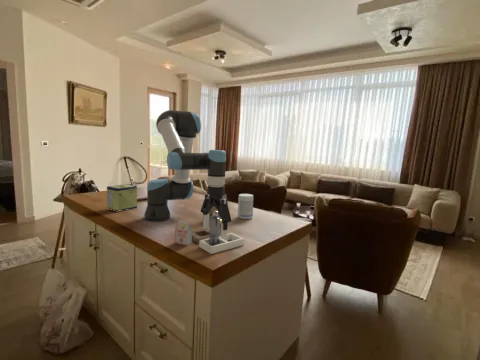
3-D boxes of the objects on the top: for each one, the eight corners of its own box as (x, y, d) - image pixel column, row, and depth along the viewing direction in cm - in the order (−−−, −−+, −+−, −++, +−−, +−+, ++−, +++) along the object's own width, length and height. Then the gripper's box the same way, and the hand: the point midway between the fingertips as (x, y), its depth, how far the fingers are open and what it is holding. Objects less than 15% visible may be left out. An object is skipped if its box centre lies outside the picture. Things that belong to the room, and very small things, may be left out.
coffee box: (208, 218, 165) (208, 193, 163) (213, 216, 171) (214, 191, 169) (221, 221, 162) (222, 195, 159) (226, 218, 167) (227, 193, 165)
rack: (199, 246, 121) (199, 240, 120) (231, 238, 133) (231, 232, 132) (211, 253, 114) (211, 247, 113) (243, 244, 126) (244, 238, 125)
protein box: (137, 208, 182) (137, 185, 180) (116, 212, 169) (115, 188, 167) (127, 205, 187) (127, 183, 185) (106, 209, 174) (106, 186, 172)
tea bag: (180, 240, 128) (180, 220, 126) (191, 243, 125) (192, 222, 123) (175, 242, 124) (175, 222, 123) (186, 245, 122) (187, 224, 120)
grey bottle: (207, 247, 121) (208, 210, 118) (215, 245, 124) (216, 209, 121) (212, 250, 117) (214, 213, 115) (221, 248, 120) (222, 211, 118)
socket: (186, 236, 134) (186, 226, 133) (216, 229, 145) (216, 220, 145) (198, 243, 124) (199, 233, 124) (230, 236, 136) (230, 226, 136)
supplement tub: (255, 218, 171) (256, 195, 169) (243, 220, 165) (244, 197, 163) (246, 214, 179) (247, 193, 177) (234, 216, 173) (235, 194, 171)
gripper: (241, 189, 110) (238, 239, 112) (207, 181, 128) (206, 223, 131) (226, 191, 105) (224, 242, 108) (193, 182, 123) (192, 226, 126)
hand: (214, 232), depth 119 cm, fingers open, 13 cm apart
